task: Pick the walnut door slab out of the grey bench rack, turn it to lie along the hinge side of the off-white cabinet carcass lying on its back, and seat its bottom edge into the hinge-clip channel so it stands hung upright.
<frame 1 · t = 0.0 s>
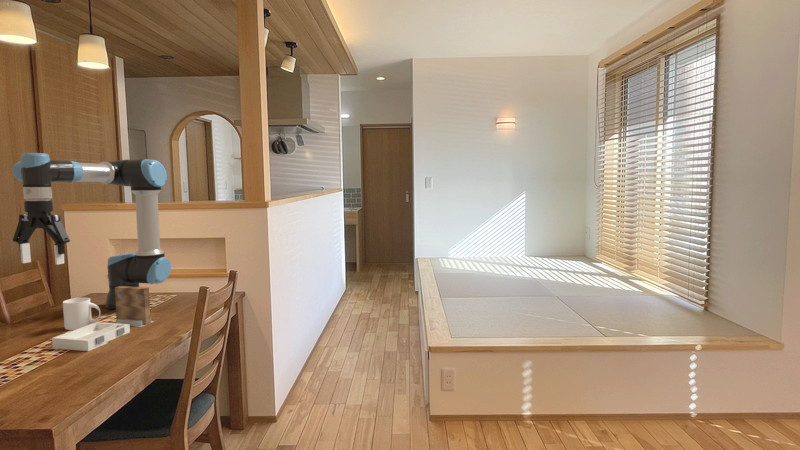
hand: (43, 263, 158), 28 cm above the table, fingers open, 13 cm apart
carcass: (93, 340, 164), on the table
door: (133, 322, 183), point 1 cm above the table, touching rack
rack: (133, 324, 183), on the table
mug: (83, 328, 179), on the table
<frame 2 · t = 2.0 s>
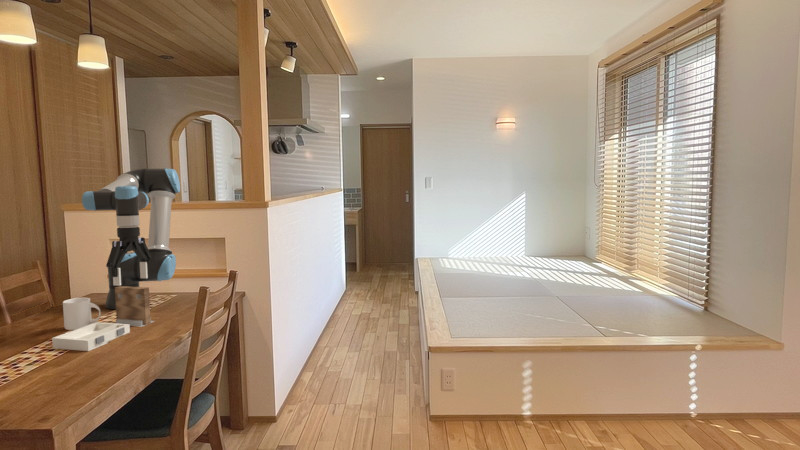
hand: (131, 281, 181), 17 cm above the table, fingers open, 13 cm apart
nothing on the table moved.
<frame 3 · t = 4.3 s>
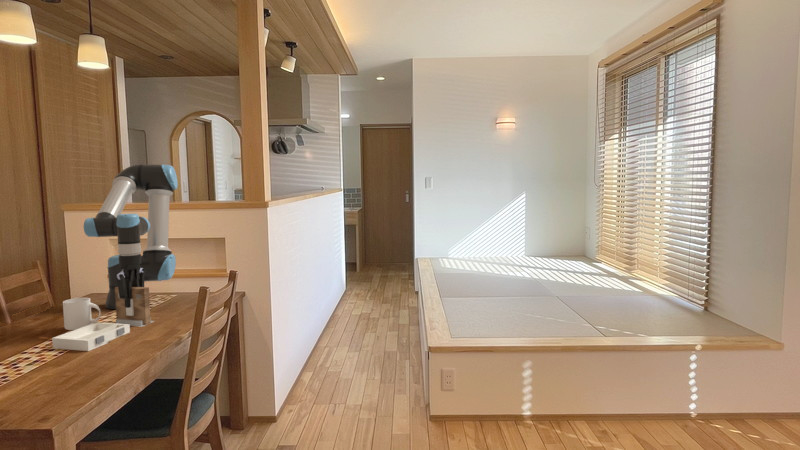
hand: (133, 314, 183), 4 cm above the table, fingers closed on door, 2 cm apart
door: (133, 322, 183), point 1 cm above the table, touching gripper, rack
everything else where it was.
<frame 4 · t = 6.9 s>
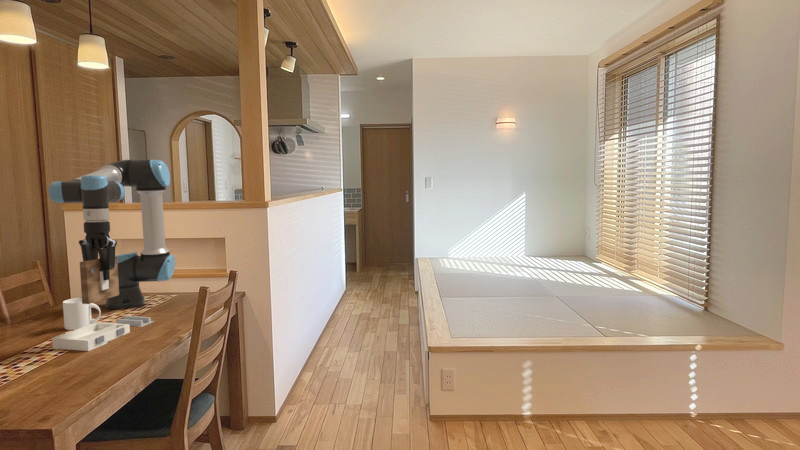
hand: (100, 289, 162), 19 cm above the table, fingers closed on door, 2 cm apart
door: (101, 299, 162), point 15 cm above the table, touching gripper
everything else where it was.
when the fingers open (5 cm above the table, at t = 9.5 s): door stays where it is, resting on carcass.
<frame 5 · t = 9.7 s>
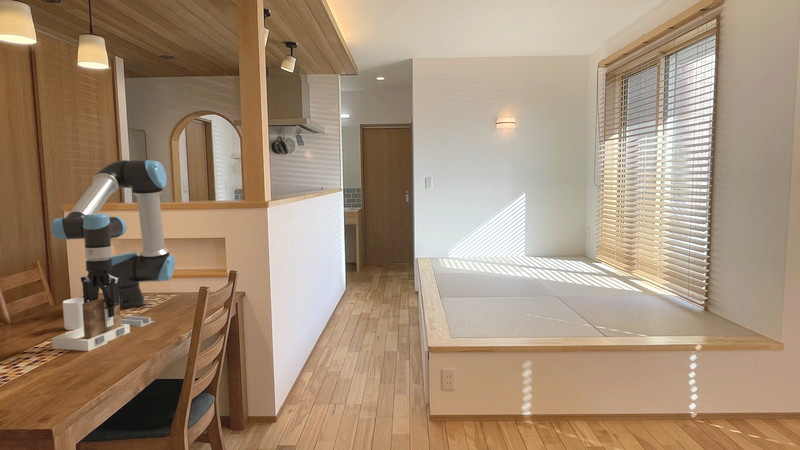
hand: (102, 325, 163), 6 cm above the table, fingers open, 5 cm apart
door: (103, 338, 164), point 1 cm above the table, touching carcass
everything else where it was.
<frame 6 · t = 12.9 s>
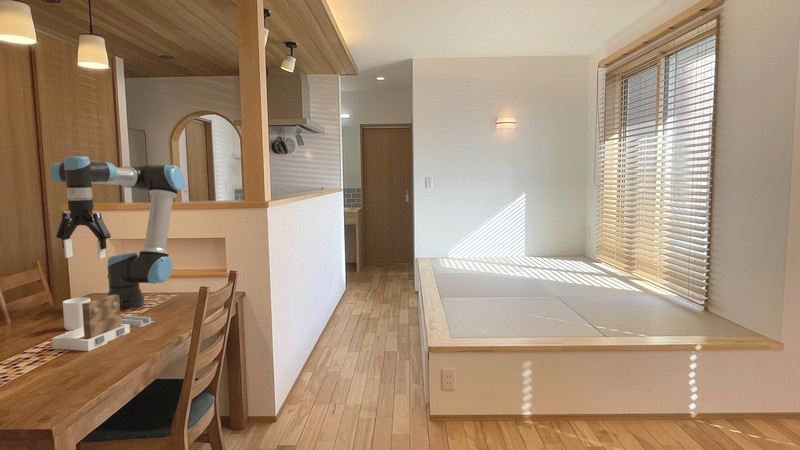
hand: (85, 257, 172), 28 cm above the table, fingers open, 13 cm apart
nothing on the table moved.
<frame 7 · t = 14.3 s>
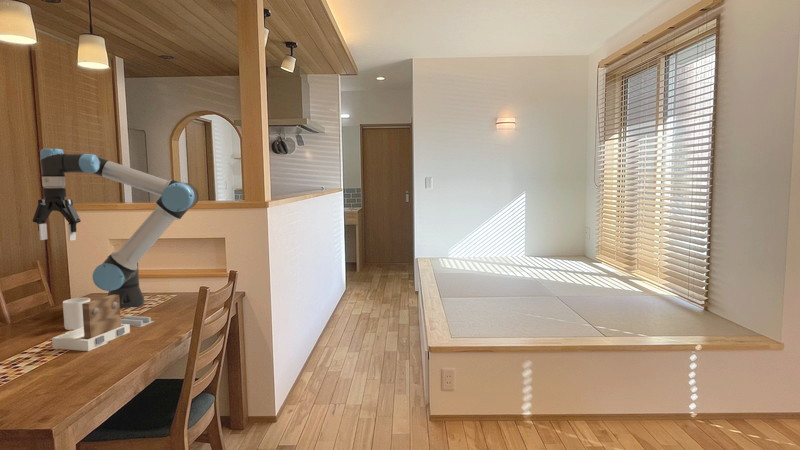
hand: (57, 240, 191), 32 cm above the table, fingers open, 13 cm apart
nothing on the table moved.
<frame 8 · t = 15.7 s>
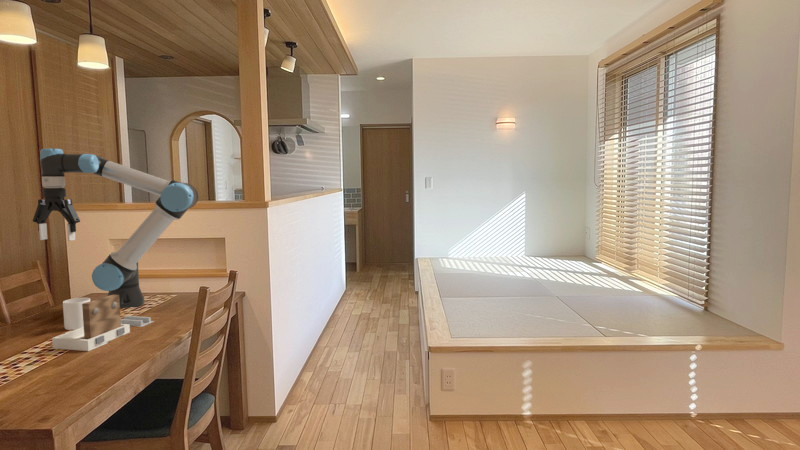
hand: (57, 240, 191), 32 cm above the table, fingers open, 13 cm apart
nothing on the table moved.
at the end: door 0.1 cm from the target spot on the carcass, point 1.0 cm above the carcass's base; door tilted 0°; the gripper is holding nothing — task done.
